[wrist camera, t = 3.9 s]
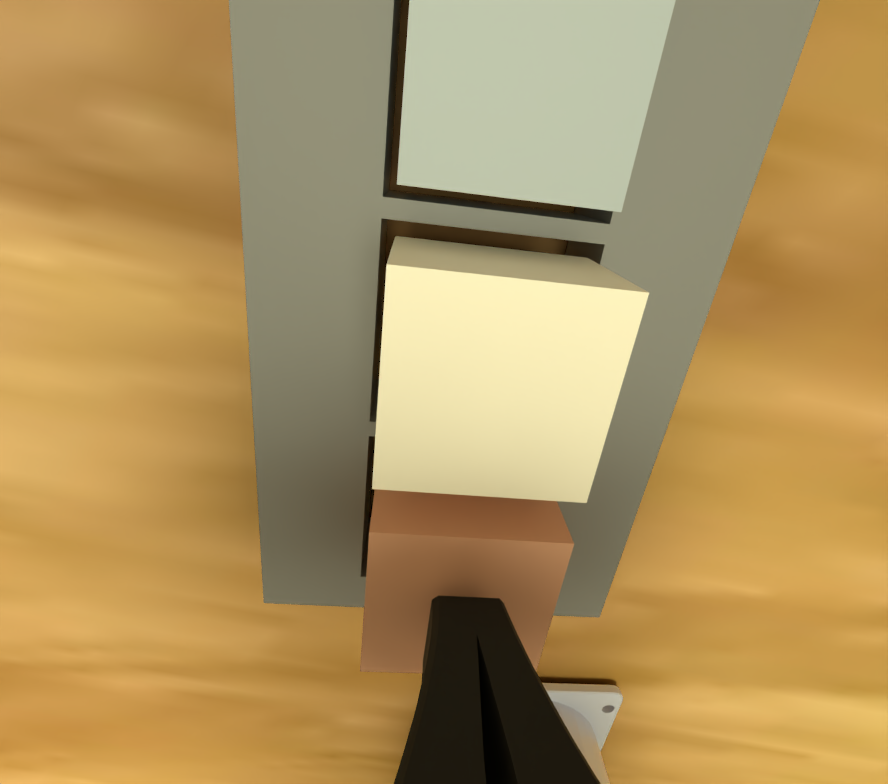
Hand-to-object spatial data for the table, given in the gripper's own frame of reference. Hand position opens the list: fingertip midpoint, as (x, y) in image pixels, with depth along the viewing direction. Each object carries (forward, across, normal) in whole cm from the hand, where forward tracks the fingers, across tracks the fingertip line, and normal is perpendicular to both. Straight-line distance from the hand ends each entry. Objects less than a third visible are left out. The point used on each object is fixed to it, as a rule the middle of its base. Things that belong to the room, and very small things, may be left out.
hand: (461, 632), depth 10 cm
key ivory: (+3, 0, -5) cm, 6 cm away
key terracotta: (+3, 0, 0) cm, 3 cm away
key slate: (+5, 0, -10) cm, 11 cm away
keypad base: (+6, 0, -5) cm, 8 cm away
